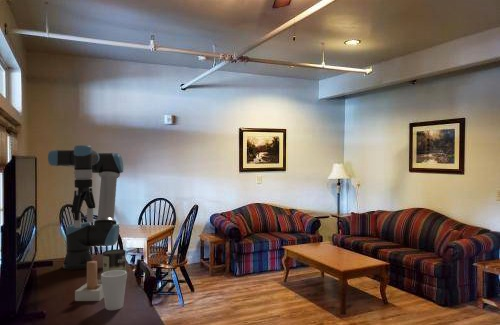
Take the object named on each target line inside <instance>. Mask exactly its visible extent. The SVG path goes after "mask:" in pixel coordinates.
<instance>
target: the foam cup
mask: <svg viewBox="0 0 500 325" xmlns="http://www.w3.org/2000/svg"><path fill="white" fill-rule="evenodd" d="M100 279H101V282H102V288H103V295H104V298H103V301H104V307H105V310H107V311H116V310H120V309H122V308H123V307H124V303H125V302H124V301H125V295H126V294H125V293H126V284H127V279H128V272H127V270H126V271H124V270H112V271H107V272H104V273H103V272H102V273H101V274H100Z"/></svg>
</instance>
